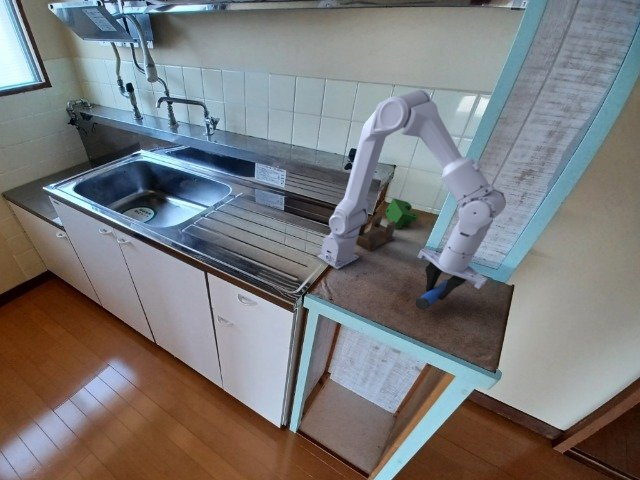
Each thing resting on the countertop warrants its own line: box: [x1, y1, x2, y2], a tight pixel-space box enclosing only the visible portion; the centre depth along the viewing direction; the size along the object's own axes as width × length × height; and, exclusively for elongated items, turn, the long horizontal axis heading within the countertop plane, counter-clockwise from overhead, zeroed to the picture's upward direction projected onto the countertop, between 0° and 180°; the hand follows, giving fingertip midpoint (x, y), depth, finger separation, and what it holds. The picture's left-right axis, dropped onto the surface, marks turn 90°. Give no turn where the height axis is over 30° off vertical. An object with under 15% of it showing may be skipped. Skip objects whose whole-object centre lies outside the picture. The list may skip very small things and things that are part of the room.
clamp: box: [385, 198, 419, 229], centre depth 110 cm, size 12×6×9 cm, turn 170°
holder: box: [356, 214, 397, 252], centre depth 102 cm, size 11×7×6 cm, turn 125°
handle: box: [414, 278, 449, 311], centre depth 79 cm, size 12×3×3 cm, turn 125°
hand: (435, 294), depth 79 cm, fingers closed on handle, 3 cm apart
